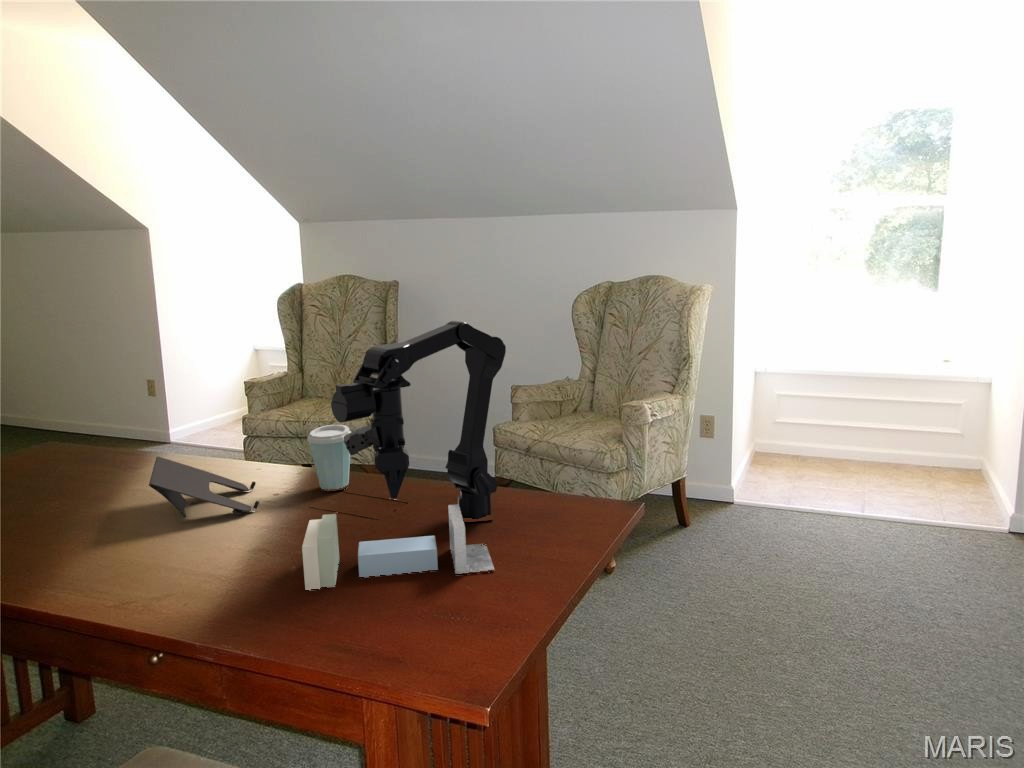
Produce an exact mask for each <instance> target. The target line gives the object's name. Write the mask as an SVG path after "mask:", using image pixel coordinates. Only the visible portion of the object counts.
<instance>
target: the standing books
mask: <svg viewBox="0 0 1024 768" xmlns="http://www.w3.org/2000/svg"><path fill="white" fill-rule="evenodd" d="M337 518H338V517H337V513H331V514H330V513H329V514H322V515H321V518H319V519H318V518H317V519H310V520H309V521H308V525H307V528H306V531H305V535H304V539H303V542H302V546H301V551H302V554H301V555H302V562H303V563H302V565H303V566H302V567H303V577H304V588H305V589H304V590H309V591H312V590H311V589H319V590H321V589H322V588H321V587H327V588H336V586H335V585H337V584H336V583H337V577H338V572H337V571H338V570H339V565H338V564H340V550H339V549H340V548H339V535H338V531H339V530H338V521H337V520H338V519H337ZM320 588H321V589H320Z"/></svg>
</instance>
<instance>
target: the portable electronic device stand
mask: <svg viewBox="0 0 1024 768" xmlns="http://www.w3.org/2000/svg"><path fill="white" fill-rule="evenodd" d="M210 483H212V484H213V483H214V484H217V485H220V486H223V487H226V488H230V489H232V490H236V491H238V492H241V493H242V492H243V491H249V490H252V491H254V488H255V486H256V481H252V482H251V484H250V486H249V487H248V486H247V485H246V484H244V483H241V482H239V481H236V480H233V479H230V478H228V477H225V476H222V475H218V474H215V473H213V472H209V471H206V470H203V469H200V468H197V467H193V466H190V465H186V464H185V463H181V462H177V461H174V460H171V459H169V458H164V457H161V456H156V457H155V461H154V464H153V467H152V471H151V475H150V479H149V483H148V486H149V487H150V488H152V489H153V490H155V491H156V492H158V493H159V494H160V495H161V496H162V497H163V498H165V499H166V500H167V501H168V502H169V503H170V504H171V505H173V507H174V508H175V509H176V510H177V511H178V512H179V513H180V514H181V515H182V516H183V517H184V518H187V513H186V507H187V506H188V505H187V503H188V502H187V500H186V498H184V496H187V497H190V498H194V499H197V500H199V501H200V500H201V501H204V502H206V503H207V502H208V503H211V504H215V505H217V506H218V505H219V506H221V507H225V508H229V509H232V511H231V512H232V513H233V514H235V515H239V516H242V515H243V513H248V512H252V511H255V512H256V511H257V510H258V508H259V505H260V501H259V500H256V501H255V502H254V504H253V507H252V506H250V505H249V504H246V503H243V502H241V501H237V500H235V499H232V498H229V497H227V496H223V495H219V494H217V493H214V492H213V491H211V490H210ZM243 493H244V492H243ZM183 495H184V496H183Z"/></svg>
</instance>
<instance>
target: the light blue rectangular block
mask: <svg viewBox="0 0 1024 768" xmlns="http://www.w3.org/2000/svg"><path fill="white" fill-rule="evenodd" d="M357 551H358V552H357V562H358V563H357V565H358V578H359V577H364V578H370V577H369V576H375V577H381V576H380V575H386V576H393V575H392V574H397V575H403V574H402V573H408V574H412V573H411V572H419V573H423V572H422V571H428V570H438V571H439V566H438V565H439V564H438V563H439V561H438V547H437V541H436V535H424V536H413V537H402V538H401V537H400V538H391V539H379V540H366V541H359V542H358V550H357Z"/></svg>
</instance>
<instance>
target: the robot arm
mask: <svg viewBox="0 0 1024 768" xmlns="http://www.w3.org/2000/svg"><path fill="white" fill-rule="evenodd" d="M453 346H456V347H457V348H458V349H460V350H461V351H463V352H465V353H464V355H465V356H464V357H465V358H464V359H465V360H464V362H465V366H466V369H467V372H468V375H469V378H468V379H469V380H468V385H467V393H466V400H465V405H464V414H463V419H462V420H463V421H462V428H461V434H460V441H459V444H458V445H457V446H456V448H455V449H454V450H453V449H448V453H447V462H446V465H445V469H446V470H447V472H446V473H447V476H448V478H449V480H450V481H451V482H452V484H453V487H454V488H455V489H459V490H460V492H459V493H460V495H457V504H459V507H460V511H461V514H462V518H472V519H479V518H482V517H485V516H487V515H492V496H491V495H492V494H494V493H496V492H497V488H498V485H499V482H498V481H497V480H496V479H495V478H494V477H493V476H492V475H491V474H490V473H489V472H488V471H489V470H488V469H489V468H488V467H489V460H488V456H487V454H486V451H485V448H484V442H485V435H486V429H487V422H488V414H489V409H490V401H491V394H492V387H493V381H494V379H495V377H496V375H497V374H498V373H499V372H500V371H501V369H502V367H503V363H504V361H505V360H504V359H505V357H506V352H507V349H506V344H505V343H504V342H503V340H502V339H501V338H500V337H498V336H493V335H490V334H488V333H487V332H484V331H482V330H480V329H478V328H475V327H474V326H472V325H470V324H469V323H467V322H464V321H457V320H451V321H449V322H446V324H444V325H441V326H439V327H436V328H434V329H432V330H429V331H427V332H425V333H422V334H420V335H417V336H415V337H412V338H410V339H407V340H405V341H402V342H394V343H385V344H380V345H376V346H371V347H370V348H368V349H367V350H366V351H365V354H364V357H363V362H362V364H361V365H360V367H359V368H358V371H357V373H356V375H355V377H354V379H353V381H352V383H348V384H337V385H336V386H335V392H334V394H333V395H332V398H331V399H332V400H331V402H330V408H331V412H332V414H333V417H334V418H335V420H336V421H337V422H339V423H346V422H351V421H356V420H360V419H366V418H369V417H371V416H372V417H371V418H370V424H368V425H366V426H363V427H360V428H358V429H356V430H353V431H351V433H349V434H347V435H345V436H344V443H345V445H346V448H347V450H348V451H349V453H350V456H354V455H357V454H358V453H359V452H360V451H363V450H366V449H368V448H370V447H372V449H373V451H374V452H375V453H374V455H373V456H374V457H373V458H374V459H373V460H374V468H375V470H376V471H377V472H380V473H381V474H382V475H383V476H384V478H385V482H386V486H387V488H388V491H389V495H390V499H396V498H398V496H399V494H400V490H401V488H402V484H403V481H404V479H405V476H406V474H407V472H408V469H409V468H410V467H409V466H410V456H409V451H408V450H407V449H406V448H405V446H406V439H405V431H404V425H405V423H404V415H403V403H402V402H403V401H402V388H403V389H404V388H407V387H410V386H411V382H410V381H408V380H407V379H406V378H405V377H404V376H403V374H405V373H406V372H408V371H409V370H410V369H411V368H412V367H413V366H414V364H415V363H417V362H418V361H420V360H422V359H424V358H427V357H430V356H431V355H434V354H436V353H438V352H441V351H443V350H446V349H448V348H450V347H453Z"/></svg>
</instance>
